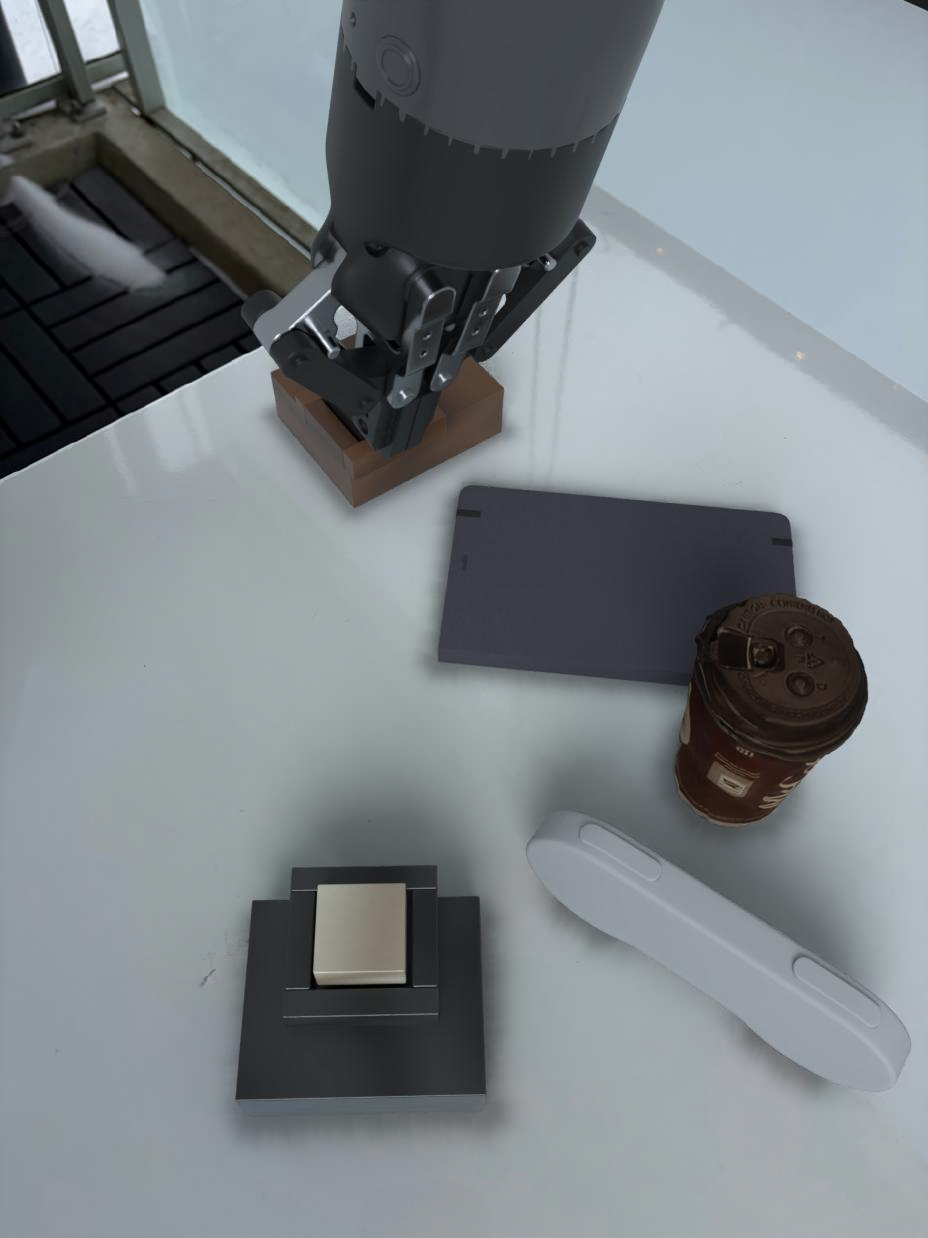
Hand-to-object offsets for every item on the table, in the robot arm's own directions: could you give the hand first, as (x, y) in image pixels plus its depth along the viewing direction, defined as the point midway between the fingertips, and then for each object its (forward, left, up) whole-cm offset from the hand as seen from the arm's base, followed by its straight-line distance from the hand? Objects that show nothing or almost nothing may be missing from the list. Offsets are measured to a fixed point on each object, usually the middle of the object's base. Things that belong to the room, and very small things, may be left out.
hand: (387, 435), depth 42 cm
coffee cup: (+13, -13, -24) cm, 30 cm away
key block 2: (-10, -13, -24) cm, 29 cm away
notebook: (+16, 0, -24) cm, 29 cm away
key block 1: (+12, +20, -24) cm, 33 cm away
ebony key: (+9, +17, -18) cm, 27 cm away
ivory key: (-9, -11, -18) cm, 23 cm away
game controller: (+4, -20, -24) cm, 32 cm away
